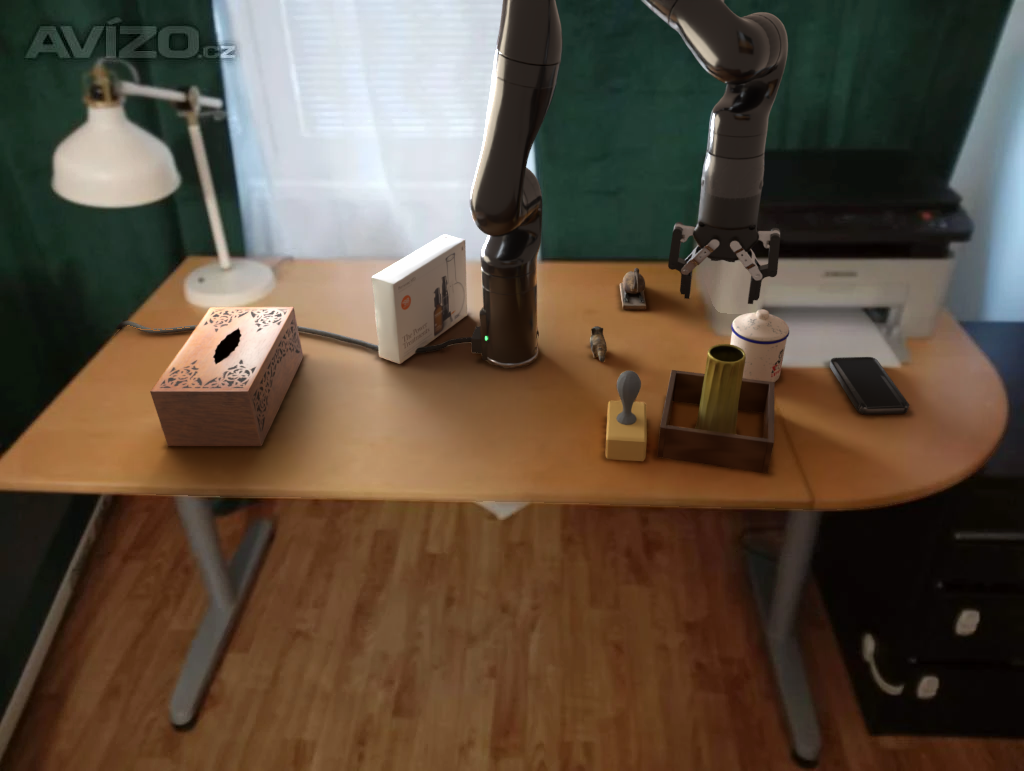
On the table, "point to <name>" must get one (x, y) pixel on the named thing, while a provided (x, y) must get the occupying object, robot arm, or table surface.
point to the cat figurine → (598, 343)
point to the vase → (721, 389)
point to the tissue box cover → (229, 377)
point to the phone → (868, 386)
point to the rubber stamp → (626, 421)
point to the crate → (717, 444)
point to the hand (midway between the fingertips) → (718, 298)
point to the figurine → (633, 290)
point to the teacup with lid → (760, 344)
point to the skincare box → (420, 297)
